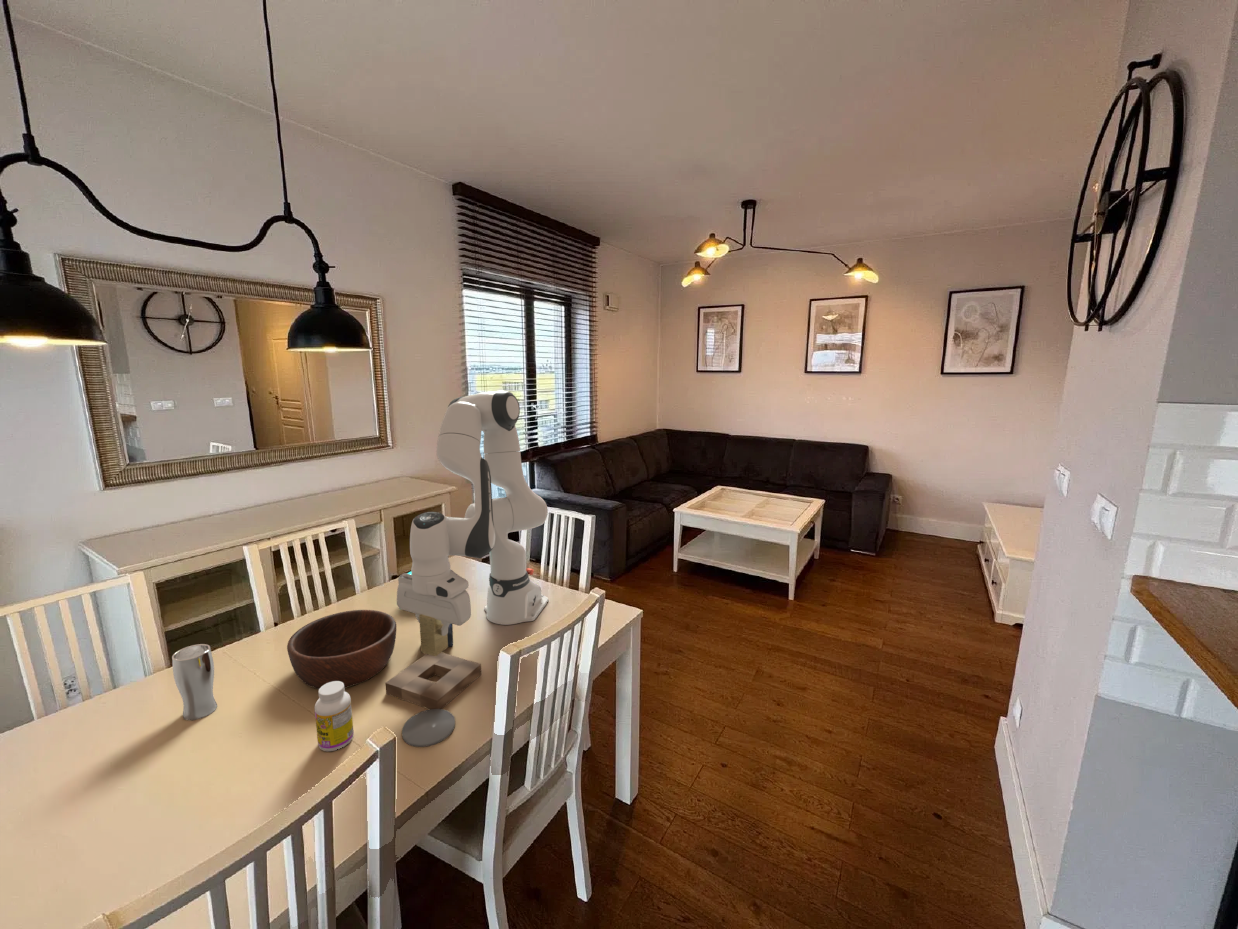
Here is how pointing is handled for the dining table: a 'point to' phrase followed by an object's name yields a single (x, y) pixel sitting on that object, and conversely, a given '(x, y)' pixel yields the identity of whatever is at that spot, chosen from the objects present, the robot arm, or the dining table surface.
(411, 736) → the coaster
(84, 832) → the dining table surface
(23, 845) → the dining table surface
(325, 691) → the supplement bottle
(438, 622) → the part
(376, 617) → the wooden bowl
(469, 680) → the pocket
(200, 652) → the beer glass
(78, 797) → the dining table surface
